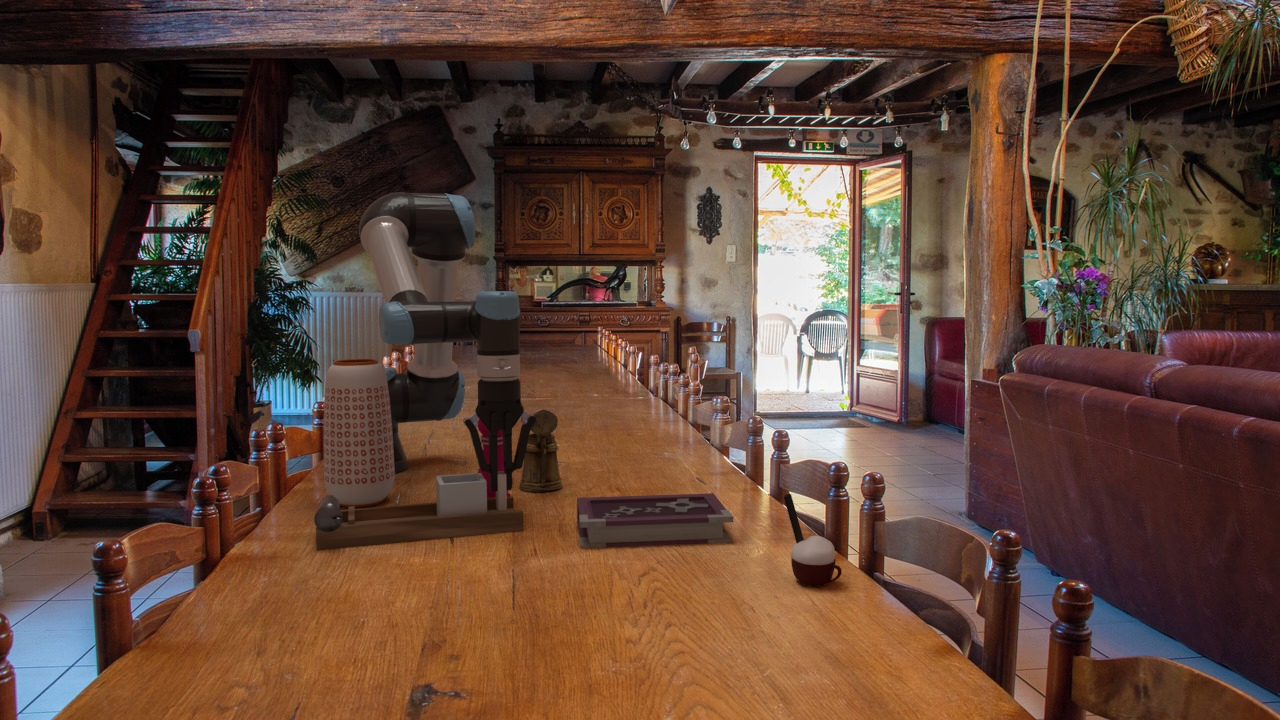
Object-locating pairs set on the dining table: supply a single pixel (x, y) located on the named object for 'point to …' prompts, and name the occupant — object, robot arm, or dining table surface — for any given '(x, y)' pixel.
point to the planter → (358, 433)
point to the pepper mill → (485, 443)
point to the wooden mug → (541, 456)
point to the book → (651, 520)
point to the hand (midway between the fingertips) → (501, 508)
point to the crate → (461, 494)
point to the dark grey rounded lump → (328, 514)
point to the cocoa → (810, 554)
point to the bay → (415, 524)
